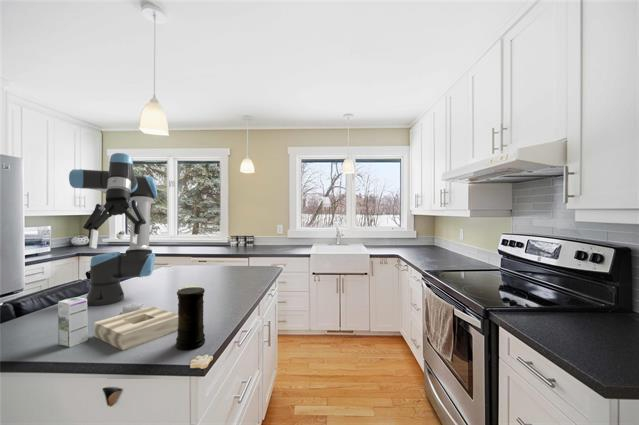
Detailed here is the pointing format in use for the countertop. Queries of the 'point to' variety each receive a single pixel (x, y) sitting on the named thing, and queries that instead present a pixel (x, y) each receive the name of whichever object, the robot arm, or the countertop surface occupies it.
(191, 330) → the container
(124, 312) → the mechanical component
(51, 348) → the countertop surface
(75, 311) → the syrup box
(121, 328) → the socket block
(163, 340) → the countertop surface
